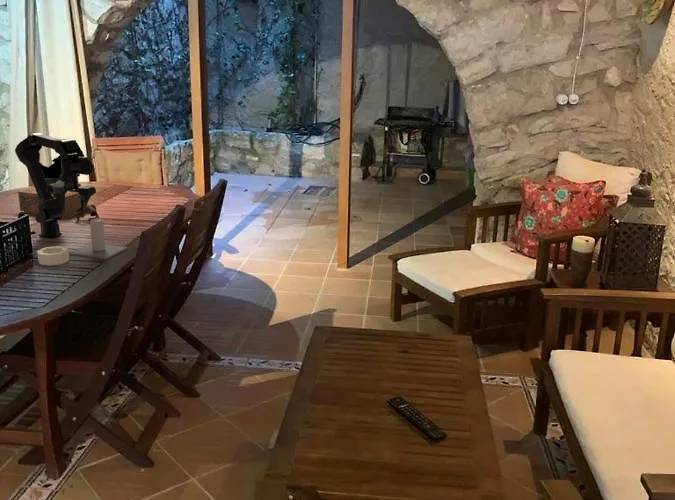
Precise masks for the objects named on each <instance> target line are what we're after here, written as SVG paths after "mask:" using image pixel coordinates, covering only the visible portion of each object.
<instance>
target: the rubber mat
mask: <svg viewBox="0 0 675 500" xmlns="http://www.w3.org/2000/svg"><path fill="white" fill-rule="evenodd" d="M127 250H128V246H122V245H120V246H119V245H113V244H105V250H104V251H100V252H96V251H93V250H92V242H91V243H88V244H87V245H83V246H82V247H80V248H77V249H75V250H73V251H70V252H69V256H76V257H83V258H84V257H85V258H91V259H99V260H109V259H111V258H113V257H115V256H116V255H119V254H120V253H123V252H125V251H127Z"/></svg>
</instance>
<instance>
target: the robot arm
mask: <svg viewBox="0 0 675 500" xmlns="http://www.w3.org/2000/svg"><path fill="white" fill-rule="evenodd" d="M43 147H44V148H48V149H52V150H54V152H55V153H56V154H58V156H57V157H56V158H57V159H58V160H61V168H62V175H60V180H59V181H57V182H56V183H53V184H50V185H47V182H46V180H45V177H44V174H43V172H42V169H41V167H40V164H39V159H40V160H41V153H40V151H41V149H42V148H43ZM14 153H15V155H16V156H17V158H18V160H19V162H20V163H21V164H22V165H24V166H25V168H26V169H27V172H28V174H29V176H30V180H31V179H32V180H31V183H32V184H33V186H34V187H35V190H36V192H37V195H38V197H39V205H38V209H39V213H38V214H35V215H36V216H35V217H34V218H35V221H36V223H38V224H40V230H41V231H40V232H41V233H40V234H39V235H38V236H39V237H40V238H49V239H50V238H51V239H54V238H55V237H58V236H60V235H61V236H62V234H63V232H61V231H60V225H59V221H61V220H62V218H63V217H62V212H63V210H64V208H65V194H66V193H67V191H69V192H79V194H80V196H78V197H79V198H80V199H81V209H82V212H84V211H85V209H86V206H87V204H88V203H89V202H90V199H91V197H93V196H94V195H95V194H97V189H96V187H95V186H91V185H85V186H82V183H79V177H80V176H81V175H85V176H88V175H90V174H92V172H93V171H94V170H93V169H94V165H93V163H92V161H91V160H89V157H88V156H85V154H84V152H83V150H82V148H81V147H80V145H79V144H78V142H77V140H76V139H74V138H57V137H53V136H50V135H48V134H43V133H41V132H35V133H29V134H28V135H27V136H26V137H25V138H24V139H22V140H21V141H20V142H19V143H18V144H17V145H16V146H15V148H14ZM73 189H75V190H73ZM52 195H53V196H55V197H56V198H54V197H53V196H52ZM88 205H89V204H88Z"/></svg>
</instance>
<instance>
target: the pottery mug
mask: <svg viewBox="0 0 675 500" xmlns="http://www.w3.org/2000/svg"><path fill="white" fill-rule="evenodd" d="M97 211H98V210H97V206H96V205H94V204H90V205H89V204H87V206H86V209H85V211H84V212H82V209H81V207H80V208H79V209H77V212H76V211H75V213H74V214H75V215H74V216H75V219H76V220H78V221H79V220H80V218H84V217H85V214H86V215H87V214H88V215H89V216H90V217H94V219H97V218H98V219H101V218H100V216H99V214H98V212H97Z"/></svg>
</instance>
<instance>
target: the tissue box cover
mask: <svg viewBox="0 0 675 500" xmlns="http://www.w3.org/2000/svg"><path fill="white" fill-rule="evenodd" d="M73 190H75V189H73ZM17 193H18V202H19V211H20V210H21V211H24V212H28V213H27V214H32V213H33V214H34V215H37V214H38V213H39V209H38V205H39V197H38V195H37V192H36V190H35V187H30V188H26V189H22V190H19V191H18V192H17ZM52 196H53V195H52ZM78 196H80V194H79V192H69V191H67V193H66V194H65V208H64V210H63V212H62V218H66V219H68V218H70V217H73V216H76V215H75V214H74V213H75V211H76V212H77V209H79V208H80V207H81V199H80V198H79V197H78ZM53 197H54V198H56V197H55V196H53ZM24 212H23V213H24ZM33 214H32V215H33Z"/></svg>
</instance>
